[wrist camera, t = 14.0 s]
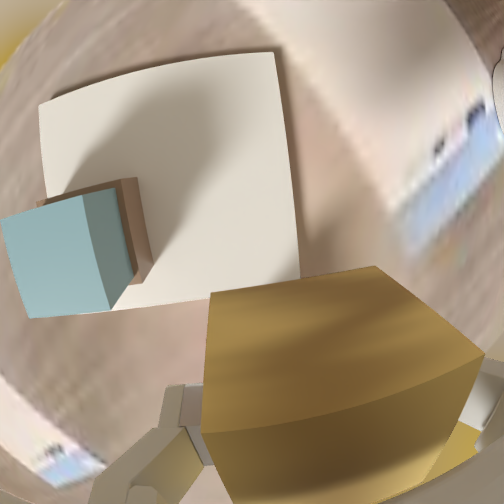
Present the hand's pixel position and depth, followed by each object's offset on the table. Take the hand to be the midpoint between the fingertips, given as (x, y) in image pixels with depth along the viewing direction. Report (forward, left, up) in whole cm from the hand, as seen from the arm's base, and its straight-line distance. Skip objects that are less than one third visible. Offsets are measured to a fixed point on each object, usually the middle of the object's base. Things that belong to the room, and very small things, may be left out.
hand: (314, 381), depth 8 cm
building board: (+6, -5, -17) cm, 19 cm away
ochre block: (0, 0, -2) cm, 2 cm away
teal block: (+11, -3, -12) cm, 17 cm away
